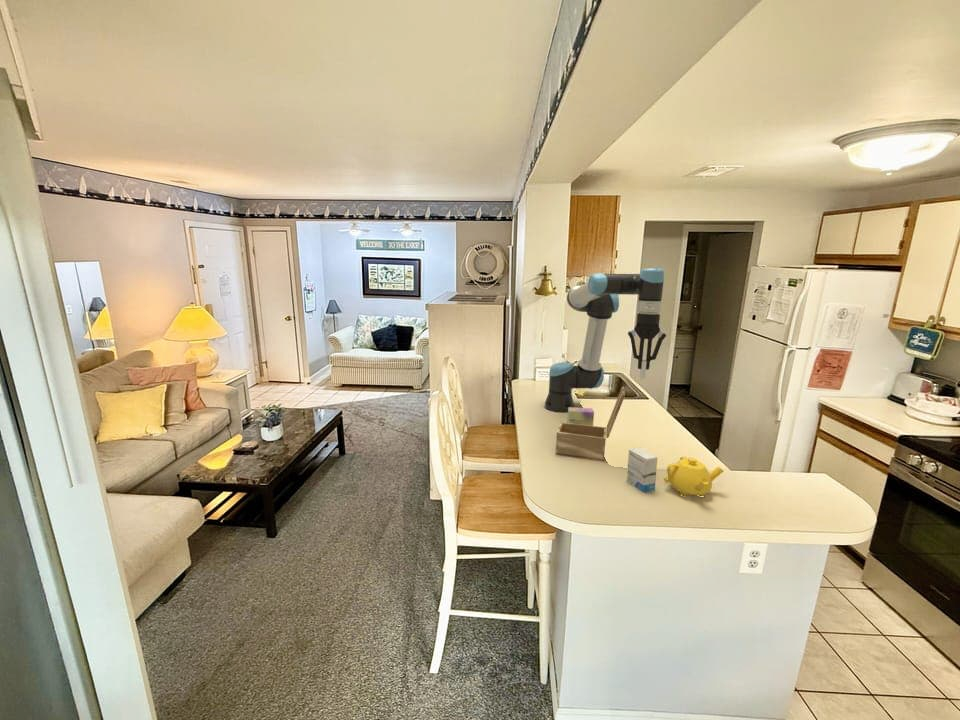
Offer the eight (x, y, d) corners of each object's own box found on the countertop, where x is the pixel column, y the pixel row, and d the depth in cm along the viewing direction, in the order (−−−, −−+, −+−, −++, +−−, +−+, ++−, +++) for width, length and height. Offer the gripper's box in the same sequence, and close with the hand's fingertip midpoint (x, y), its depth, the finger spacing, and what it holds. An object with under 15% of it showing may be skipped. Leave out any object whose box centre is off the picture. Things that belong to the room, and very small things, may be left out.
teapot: (703, 508, 126) (708, 474, 124) (659, 490, 136) (663, 458, 134) (721, 492, 135) (726, 460, 133) (678, 477, 145) (682, 447, 143)
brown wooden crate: (559, 442, 173) (560, 422, 171) (604, 448, 168) (606, 427, 166) (555, 454, 162) (556, 432, 160) (603, 461, 156) (605, 438, 155)
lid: (622, 386, 161) (624, 387, 161) (606, 426, 166) (609, 426, 166) (622, 395, 149) (625, 395, 149) (606, 437, 154) (608, 438, 154)
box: (590, 433, 184) (592, 407, 181) (592, 438, 178) (594, 412, 175) (566, 432, 184) (567, 406, 182) (567, 437, 179) (569, 411, 176)
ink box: (655, 490, 136) (659, 457, 133) (642, 493, 134) (646, 459, 132) (637, 478, 144) (640, 446, 141) (625, 480, 142) (628, 448, 140)
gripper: (629, 313, 146) (623, 378, 150) (670, 314, 142) (662, 382, 147) (628, 311, 153) (623, 374, 157) (667, 312, 149) (660, 377, 154)
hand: (642, 377), depth 152 cm, fingers closed
